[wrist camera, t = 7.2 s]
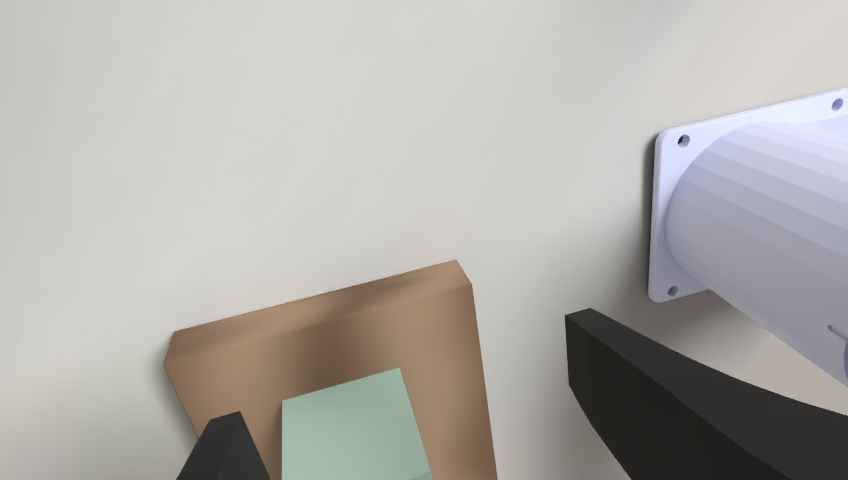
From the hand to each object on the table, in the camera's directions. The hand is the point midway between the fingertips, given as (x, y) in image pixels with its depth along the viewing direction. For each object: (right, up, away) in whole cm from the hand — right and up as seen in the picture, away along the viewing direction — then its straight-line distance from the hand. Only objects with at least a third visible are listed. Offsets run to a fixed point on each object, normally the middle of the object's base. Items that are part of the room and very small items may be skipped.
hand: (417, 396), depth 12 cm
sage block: (-3, -4, +10) cm, 11 cm away
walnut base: (-3, -4, +12) cm, 12 cm away
